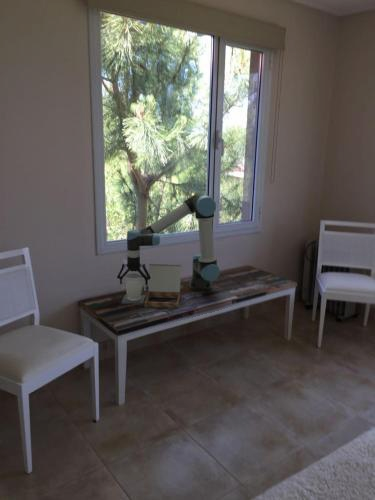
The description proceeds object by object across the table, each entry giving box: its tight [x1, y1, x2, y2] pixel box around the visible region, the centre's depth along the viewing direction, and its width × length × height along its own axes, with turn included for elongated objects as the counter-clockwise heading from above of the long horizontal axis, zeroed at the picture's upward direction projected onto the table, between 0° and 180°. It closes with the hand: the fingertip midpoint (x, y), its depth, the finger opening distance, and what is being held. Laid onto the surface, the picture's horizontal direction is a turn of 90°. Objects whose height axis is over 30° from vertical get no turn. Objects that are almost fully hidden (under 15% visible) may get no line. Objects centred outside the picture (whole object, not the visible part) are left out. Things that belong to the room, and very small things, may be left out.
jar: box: [125, 272, 144, 301], centre depth 255 cm, size 11×10×15 cm
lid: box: [147, 263, 182, 293], centre depth 263 cm, size 20×17×1 cm
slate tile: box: [120, 294, 147, 306], centre depth 257 cm, size 13×13×1 cm
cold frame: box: [144, 291, 181, 309], centre depth 255 cm, size 20×17×3 cm
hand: (133, 289), depth 255 cm, fingers open, 13 cm apart
